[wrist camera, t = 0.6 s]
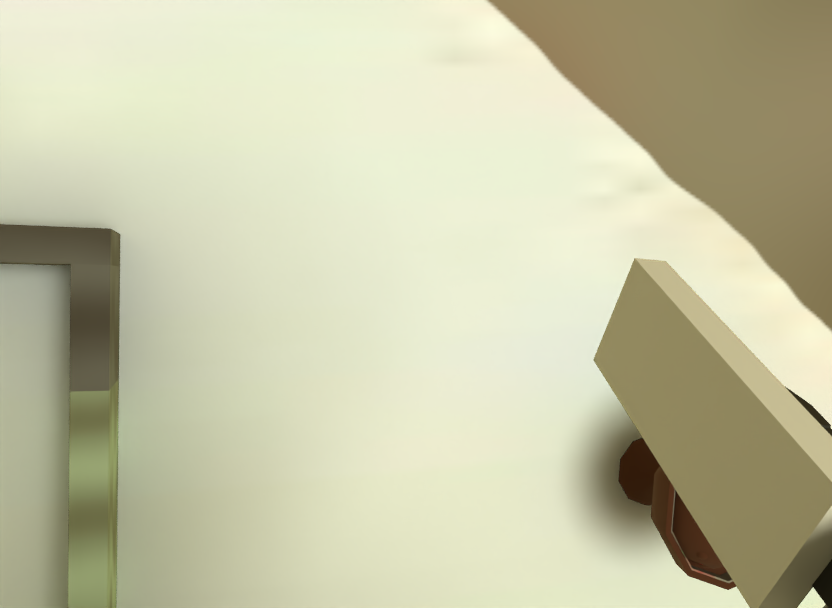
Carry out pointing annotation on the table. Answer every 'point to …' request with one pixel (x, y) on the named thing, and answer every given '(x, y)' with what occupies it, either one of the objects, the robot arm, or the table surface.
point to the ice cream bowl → (670, 515)
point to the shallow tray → (86, 395)
